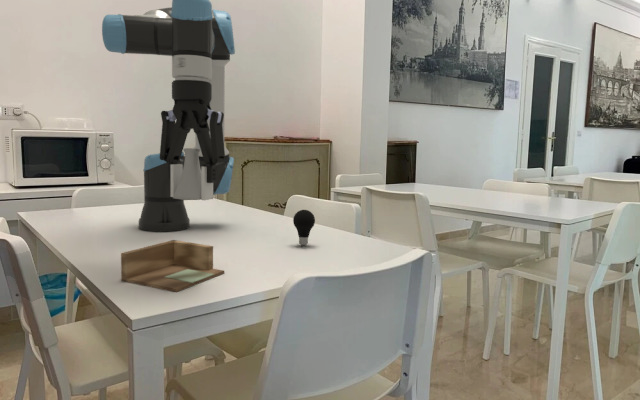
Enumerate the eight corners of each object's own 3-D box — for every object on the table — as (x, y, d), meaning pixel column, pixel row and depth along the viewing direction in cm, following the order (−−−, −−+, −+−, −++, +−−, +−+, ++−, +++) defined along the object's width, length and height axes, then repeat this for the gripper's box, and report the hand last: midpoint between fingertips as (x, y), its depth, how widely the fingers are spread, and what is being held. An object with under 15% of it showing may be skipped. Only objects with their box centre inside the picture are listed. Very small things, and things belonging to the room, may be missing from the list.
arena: (121, 280, 100) (121, 253, 99) (173, 264, 114) (173, 239, 113) (176, 292, 94) (176, 263, 94) (224, 273, 108) (224, 247, 107)
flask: (166, 200, 98) (165, 148, 96) (183, 195, 105) (183, 147, 103) (200, 202, 96) (200, 149, 95) (216, 197, 103) (216, 148, 102)
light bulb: (298, 249, 133) (299, 211, 131) (289, 244, 138) (290, 208, 136) (317, 247, 135) (319, 211, 134) (308, 243, 140) (309, 207, 139)
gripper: (138, 79, 98) (140, 195, 101) (222, 77, 90) (221, 204, 93) (165, 83, 105) (166, 192, 108) (245, 81, 97) (244, 200, 99)
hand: (191, 197), depth 100 cm, fingers closed on flask, 7 cm apart
